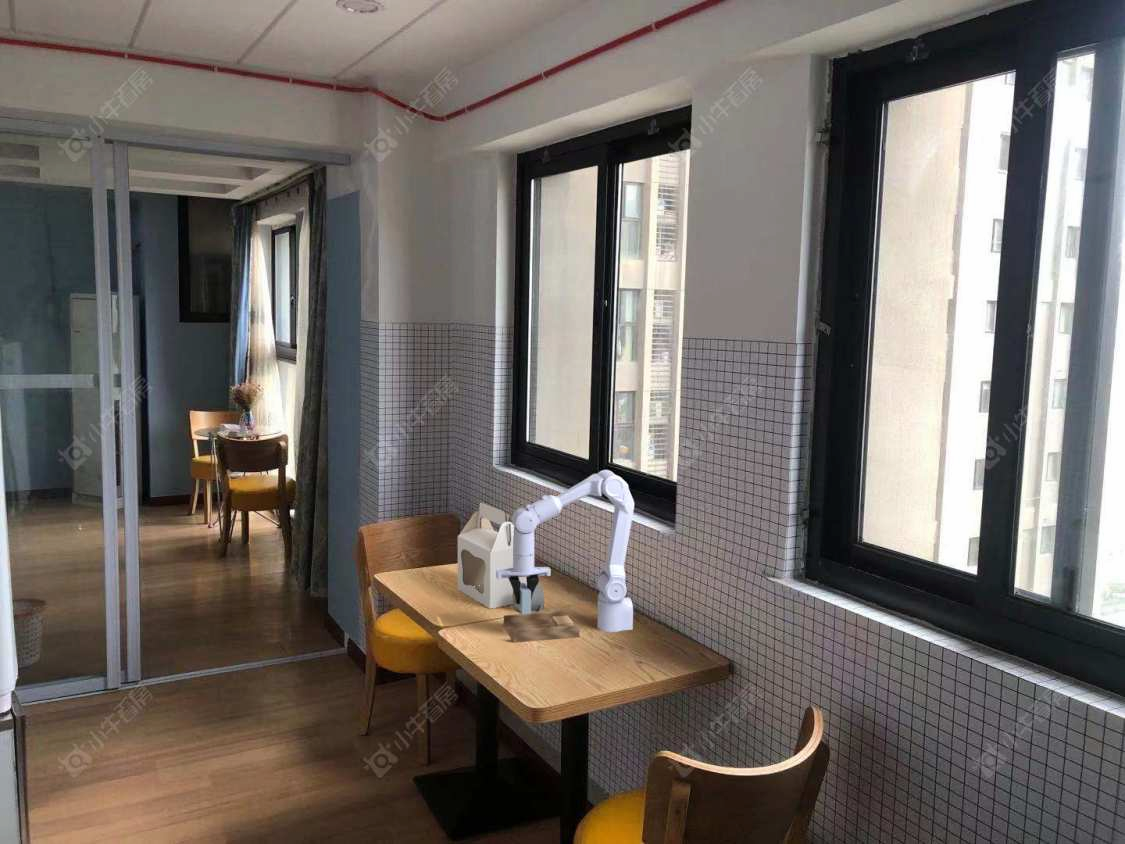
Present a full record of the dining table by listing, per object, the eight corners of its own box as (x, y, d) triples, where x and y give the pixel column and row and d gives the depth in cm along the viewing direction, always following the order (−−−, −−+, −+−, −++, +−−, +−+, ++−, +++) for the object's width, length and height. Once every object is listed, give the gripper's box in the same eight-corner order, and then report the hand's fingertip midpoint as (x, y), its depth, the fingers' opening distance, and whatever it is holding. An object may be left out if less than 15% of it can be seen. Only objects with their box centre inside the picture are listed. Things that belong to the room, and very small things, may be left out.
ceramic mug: (511, 607, 270) (511, 582, 269) (537, 605, 272) (538, 580, 271) (520, 620, 260) (521, 594, 259) (548, 617, 262) (548, 591, 261)
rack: (566, 623, 256) (566, 610, 256) (579, 640, 244) (579, 626, 244) (503, 628, 252) (503, 615, 251) (513, 645, 239) (513, 631, 239)
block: (524, 604, 250) (524, 583, 249) (530, 613, 242) (531, 591, 241) (515, 604, 249) (515, 583, 249) (522, 614, 242) (522, 592, 241)
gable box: (529, 602, 275) (530, 511, 271) (490, 609, 268) (490, 516, 264) (494, 583, 293) (494, 498, 290) (456, 589, 286) (457, 502, 283)
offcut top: (567, 620, 252) (567, 615, 252) (573, 628, 246) (573, 622, 246) (552, 621, 251) (552, 616, 251) (557, 629, 245) (557, 623, 245)
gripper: (546, 548, 250) (545, 596, 251) (494, 551, 246) (493, 600, 247) (552, 555, 243) (552, 604, 244) (499, 558, 239) (499, 608, 241)
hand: (523, 602), depth 245 cm, fingers closed on block, 2 cm apart
